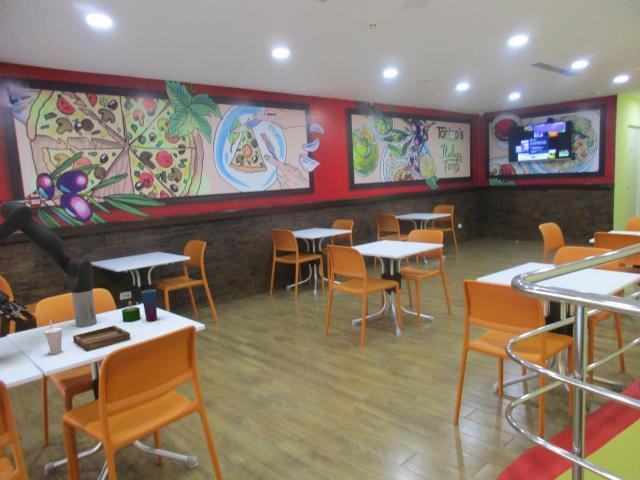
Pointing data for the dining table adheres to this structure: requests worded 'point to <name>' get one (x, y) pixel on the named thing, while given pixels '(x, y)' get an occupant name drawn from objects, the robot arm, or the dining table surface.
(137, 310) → the candle
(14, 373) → the dining table surface
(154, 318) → the cup
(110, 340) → the tray
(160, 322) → the dining table surface
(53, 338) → the smoothie
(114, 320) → the dining table surface
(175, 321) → the dining table surface
